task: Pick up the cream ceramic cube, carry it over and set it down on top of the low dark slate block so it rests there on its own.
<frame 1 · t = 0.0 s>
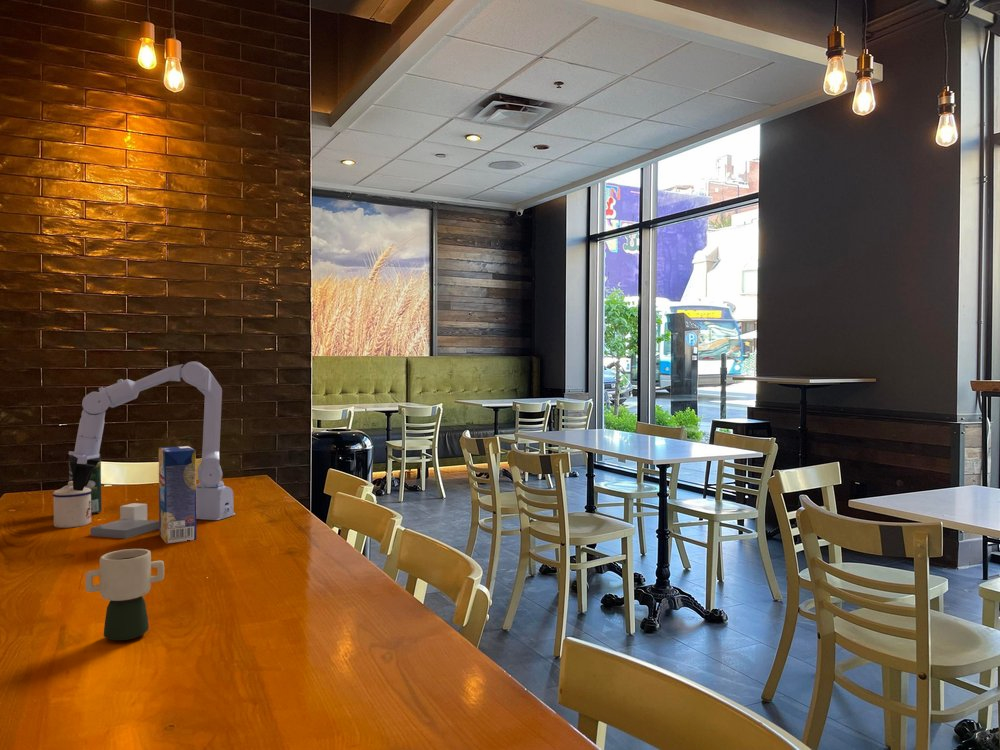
hand: (80, 488, 185), 11 cm above the table, tool pointing down, fingers open, 7 cm apart
cream cube: (133, 523, 190), on the table
beverage box: (177, 537, 174), on the table
coffee jar: (85, 513, 204), on the table
character mug: (126, 638, 110), on the table
slate block: (125, 534, 180), on the table
teacup with lid: (71, 524, 190), on the table
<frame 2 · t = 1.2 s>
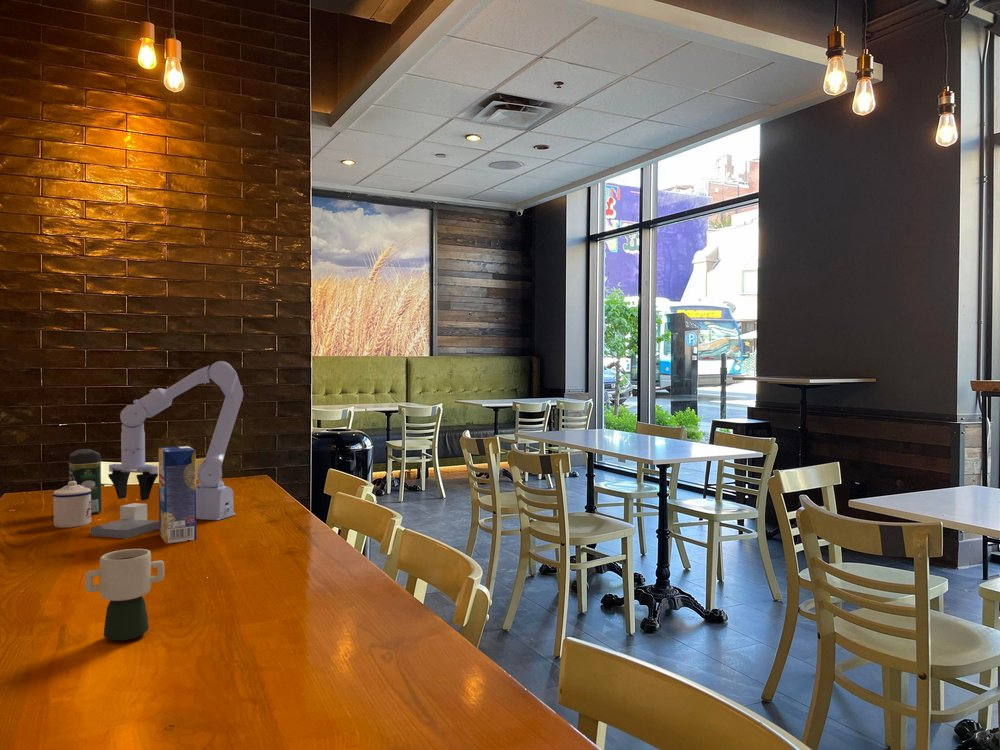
hand: (133, 499, 190), 7 cm above the table, tool pointing down, fingers open, 7 cm apart
nothing on the table moved.
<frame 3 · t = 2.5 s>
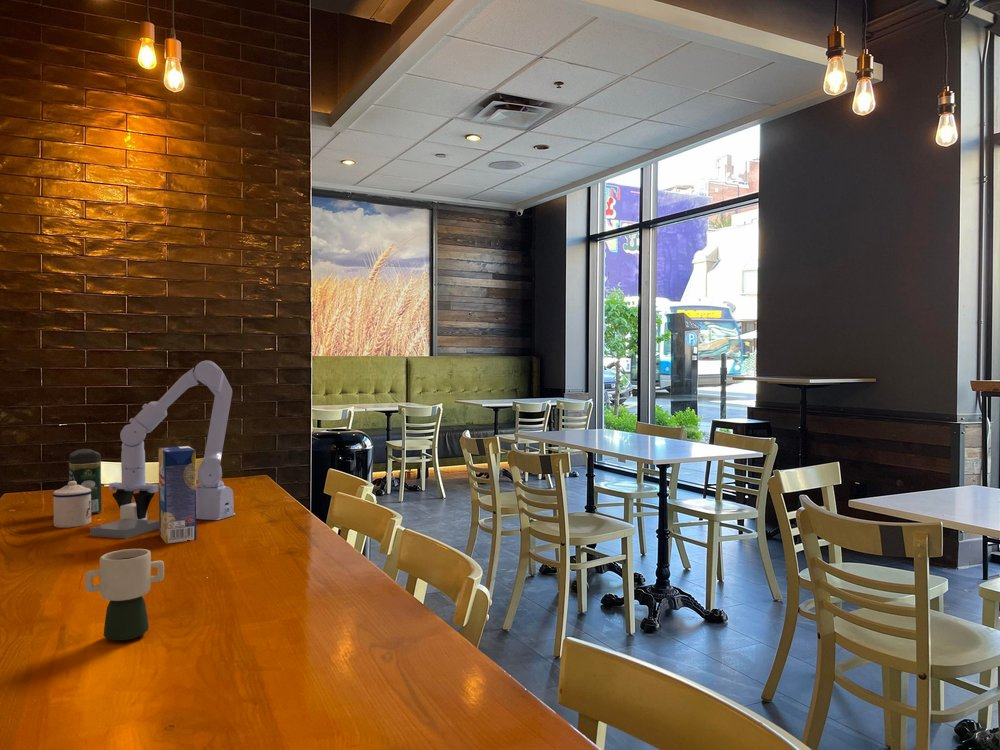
hand: (133, 517, 190), 1 cm above the table, tool pointing down, fingers closed on cream cube, 5 cm apart
cream cube: (133, 523, 190), on the table, touching gripper
everything else where it was.
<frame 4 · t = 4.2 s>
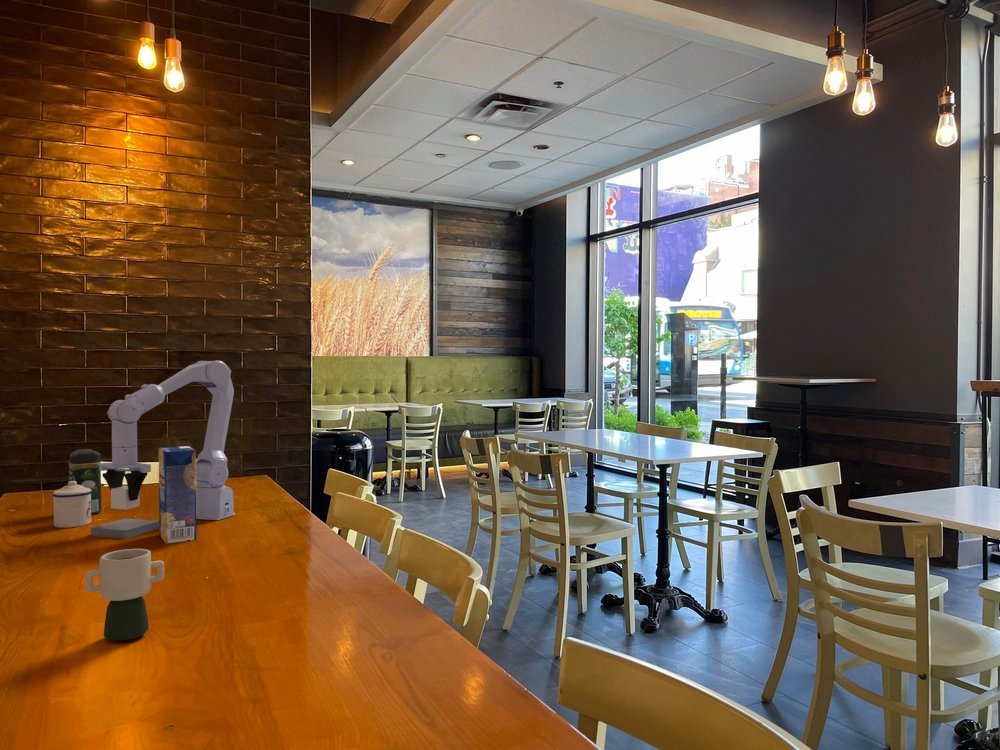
hand: (125, 499, 180), 8 cm above the table, tool pointing down, fingers closed on cream cube, 5 cm apart
cream cube: (125, 507, 180), point 6 cm above the table, touching gripper
everything else where it was.
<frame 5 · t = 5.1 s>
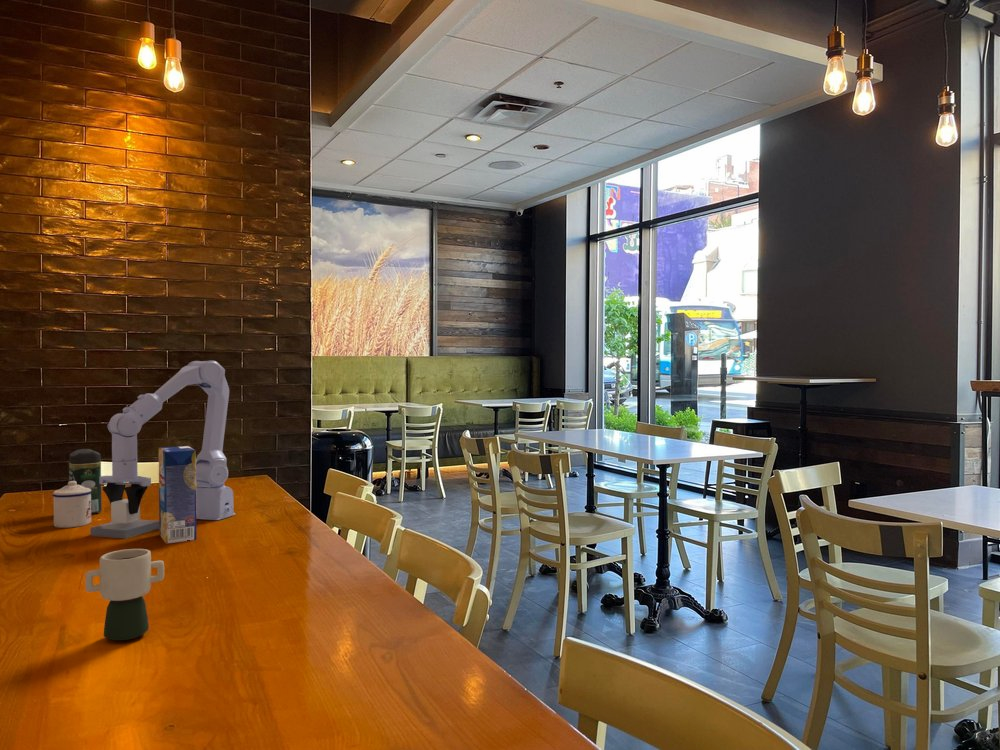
hand: (125, 512, 180), 5 cm above the table, tool pointing down, fingers closed on cream cube, 5 cm apart
cream cube: (125, 520, 180), point 3 cm above the table, touching gripper
everything else where it was.
when the fingers open (5 cm above the table, at t = 5.8 s): cream cube drops 1 cm, point 2 cm above the table.
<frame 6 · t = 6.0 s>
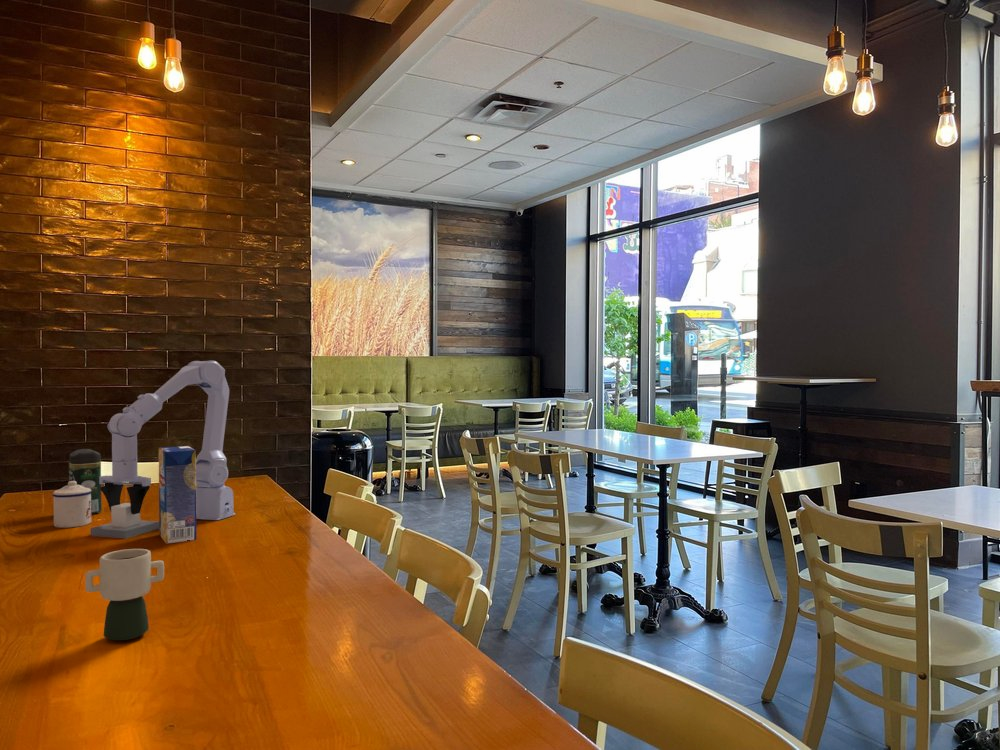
hand: (125, 512, 180), 5 cm above the table, tool pointing down, fingers open, 6 cm apart
cream cube: (126, 524, 180), point 2 cm above the table
everything else where it was.
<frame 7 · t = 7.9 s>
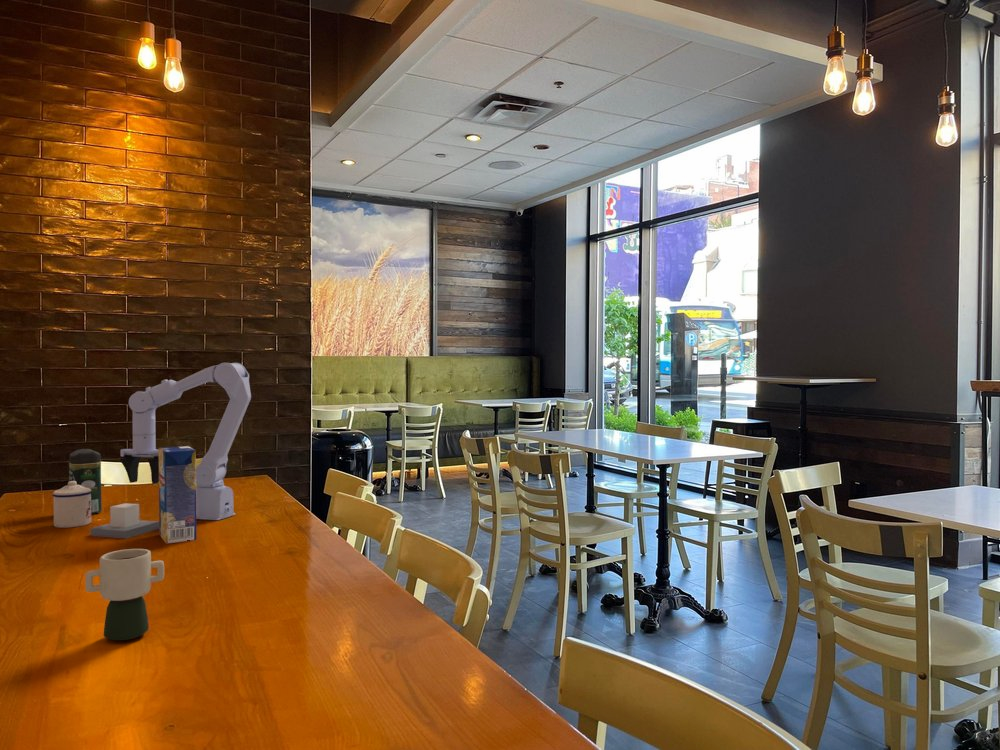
hand: (144, 482, 197), 10 cm above the table, tool pointing down, fingers open, 7 cm apart
cream cube: (125, 524, 180), point 2 cm above the table, touching slate block
slate block: (125, 534, 180), on the table, touching cream cube
everything else where it was.
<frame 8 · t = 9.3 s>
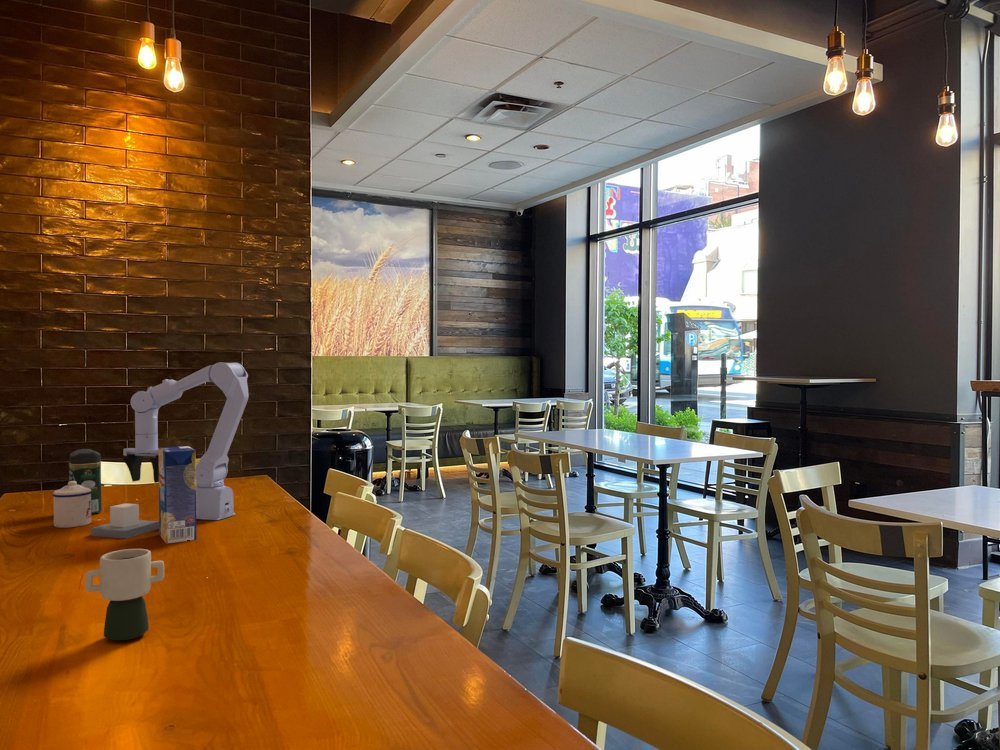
hand: (147, 481, 199), 10 cm above the table, tool pointing down, fingers open, 7 cm apart
cream cube: (124, 524, 180), point 2 cm above the table
slate block: (125, 534, 180), on the table
everything else where it was.
at the end: cream cube inside the target area on the slate block (0.3 cm from its centre), point 2.5 cm above the slate block's base; cream cube tilted 0°; the gripper is holding nothing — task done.
